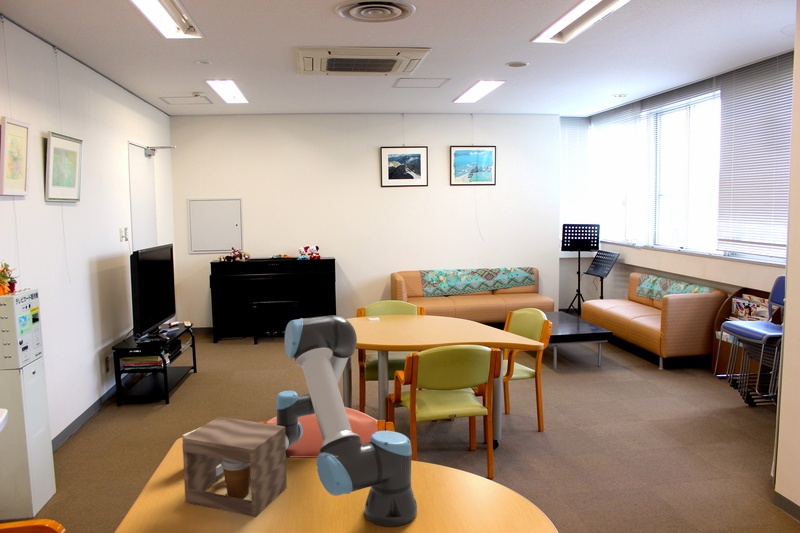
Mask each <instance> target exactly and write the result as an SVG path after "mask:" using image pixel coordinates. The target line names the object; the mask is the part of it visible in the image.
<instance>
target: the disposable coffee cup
mask: <svg viewBox="0 0 800 533" xmlns="http://www.w3.org/2000/svg"><path fill="white" fill-rule="evenodd" d="M221 465H222V467H223V471H224V477H223V478H224V481H225V487H226V488H225V489H226V494H227V496H231V497H236V498H241V499H245V498H246V497H247V496H248V495H249V494H250V486H251V465H250V463H245V462H240V461H234V460H229V459H222V461H221Z"/></svg>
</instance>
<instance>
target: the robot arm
mask: <svg viewBox="0 0 800 533" xmlns="http://www.w3.org/2000/svg"><path fill="white" fill-rule="evenodd" d="M357 341H358V338H357V332H356V330H355V328H354V326H353V325H352V323H351V322H350V321H349V320H348V319H346V318H345V317H343V316H339V315H334V314H333V315H332V314H331V315H324V316H315V317H307V318H303V317H301V318H299V319H293V320H289V322H288V323H287V325H286V327H285V332H284V351H285V355H286V356H287V358H288V359H291V360H292V359H294V361H295V364H296V366H297V367H299V368H302V371H303V374H304V378H305V381H306V386H307V389H308V393H306V394H300V395H298V393H297V392H296V391H294V390H284V391H281V392H279V393H278V394H277V395H276V400H275V410H276V413H275V414H276V425H278V426H285V441H286V450H288V449H289V448H291V447H292V446H294V444H296V443H297V442H298V441H299V440H300V439H301V437H302V436H303V434H304V429H303V426H302V423H301V422H300V421H299V418H301V417H306V416H307V417H308V416H311V415H315V417H316V421H317V425H318V428H319V432H320V436H321V438H322V444H321V445H320V448H319V452H320V453H319V454H318V456H317V457H316V467H317V468H316V470H317V474H318V477H319V480H320V482H321V484H322V486H323V488H324V489H325V491H326V492H327V493H328V494H330V495H331V496H341V495H349V494H351V493H352V492H357V491H360V490H363V489H367V488H370V489H369V491H368V495H367V498H366V500H365V504H364V514H365V517H366V518H367V520H369V521H370V522H371V523H373V524H375V525H378V526H382V527H399V526H403V525H406V524H409V523H410V522H412V521H413V520H414V519H415V518H416V517H415V516H417V514H418V504H417V503H418V502H417V499H415V495H414V492H413V489H412V488H413V487H412V455H413V452H412V451H413V450H412V444H411V443H412V442H411V440H410V439H409V437H408V436H406V435H405V434H403V433H400V432H397V431H391V430H378V431H375V432H373V433H372V434H371V435H370V438H369V440H370V441H368V442H363V443H362V441H361V438H360V435H359V434H358V433H356V432H353V430H352V427H351V424H350V420H349V418H348V414H347V410H346V407H345V405H344V401H343V397H342V394H341V392H340V387H339V383H340V380H341V378H342V375H343V372H344V370H345V367H346V365H347V363H348V360H349V358H351V357H352V356H353V355H354V353H355V350H356V348H357V343H358V342H357ZM223 472H224V471H223V467H222V465H221V463H220V465H218V466H217V467H216V476H219V475H220V474H221V473H223Z"/></svg>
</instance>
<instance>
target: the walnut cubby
mask: <svg viewBox="0 0 800 533" xmlns="http://www.w3.org/2000/svg"><path fill="white" fill-rule="evenodd" d="M198 428H199V429H198ZM198 428H196V429H197V430H196V429H194V430H195V431H194V432H192V433H190V434H188V435H187V436H185V437H183V439H182V444H183V445H182V456H183V459H182V460H183V477H184V479H183V482H184V502H185V504H192V505H196V506H199V507H200V506H201V507H205V508H211V509H214V510H215V509H216V510H220V511H224V512H228V513H233V514H237V515H242V516H243V515H244V516H249V517H253V518H257V517H258V516H259V514H261V513H262V512H263V511H264V510H265V509H267V507H268V506H269V505H270V504H272V502H273V501H275V500H276V499H277V497H279V496H280V495H281V494H282V493H283V492H284V491H285V490H286V489H287V462H286V461H287V454H286V451H287V449H286V441H285V426H278V425H277V424H269V423H263V422H257V421H250V420H244V419H237V418H230V417H224V416H223V417H222V416H218V417H217V418H215V419H213V420H211V421H209V422H207V423H206V424H204V425H203V426H200V427H198ZM222 459H229V460H234V461H240V462H245V463H250V465H251V476H250V490H251V491H250V493H251V495H250V499H251V500H249V499H245V498H236V497H231V496H228V495H224V494H221V493H215V492H210V491H206V490H208V489H209V488H211V487H212V486H213V485H214V483H215V484H216V483H217V482H219V481H220V480H221V479H222V477H223V478H225V477H224V472H223V473H221V474H220V475H219V476H216V467H217V466H218V465H220V463H221V461H222ZM219 479H220V480H219ZM218 480H219V481H218Z"/></svg>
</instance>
